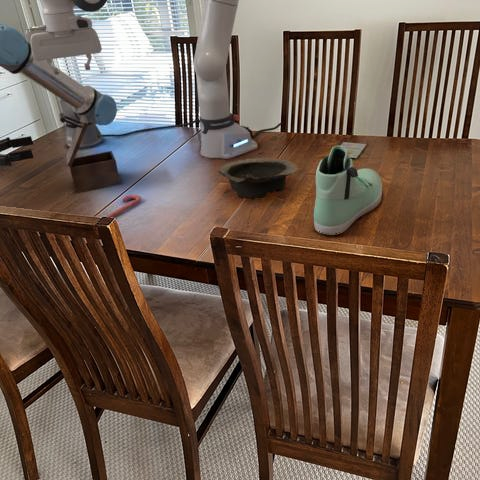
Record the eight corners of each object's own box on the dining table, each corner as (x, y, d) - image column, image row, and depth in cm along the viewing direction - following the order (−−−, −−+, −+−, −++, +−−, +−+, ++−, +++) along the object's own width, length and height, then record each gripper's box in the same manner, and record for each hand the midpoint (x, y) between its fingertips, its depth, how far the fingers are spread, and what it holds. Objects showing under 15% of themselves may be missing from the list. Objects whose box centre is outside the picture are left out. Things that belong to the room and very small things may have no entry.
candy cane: (96, 216, 146) (95, 211, 145) (131, 196, 156) (131, 192, 155) (109, 220, 143) (108, 216, 142) (145, 200, 153) (144, 196, 152)
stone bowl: (243, 213, 140) (240, 183, 136) (209, 189, 160) (205, 162, 156) (313, 190, 149) (312, 161, 144) (272, 170, 169) (270, 144, 165)
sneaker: (389, 187, 148) (396, 123, 138) (356, 242, 123) (361, 168, 112) (346, 181, 154) (350, 119, 144) (306, 232, 129) (307, 161, 118)
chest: (116, 173, 173) (111, 150, 169) (120, 183, 166) (115, 159, 161) (74, 182, 169) (68, 159, 165) (76, 192, 162) (69, 168, 157)
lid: (85, 116, 160) (61, 106, 156) (88, 123, 153) (63, 113, 149) (69, 157, 165) (45, 149, 161) (71, 167, 157) (46, 158, 153)
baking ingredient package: (332, 154, 173) (343, 141, 184) (332, 155, 173) (343, 142, 184) (356, 157, 169) (366, 143, 180) (356, 158, 169) (366, 144, 181)
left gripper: (-31, 157, 161) (35, 145, 166) (-40, 186, 141) (36, 171, 146) (-40, 136, 157) (28, 124, 162) (-50, 162, 137) (28, 147, 142)
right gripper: (23, 28, 136) (37, 78, 143) (96, 20, 141) (106, 69, 148) (23, 26, 141) (37, 74, 148) (94, 18, 146) (104, 65, 154)
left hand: (32, 146), depth 154 cm, fingers open, 13 cm apart
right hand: (72, 71), depth 148 cm, fingers open, 8 cm apart
